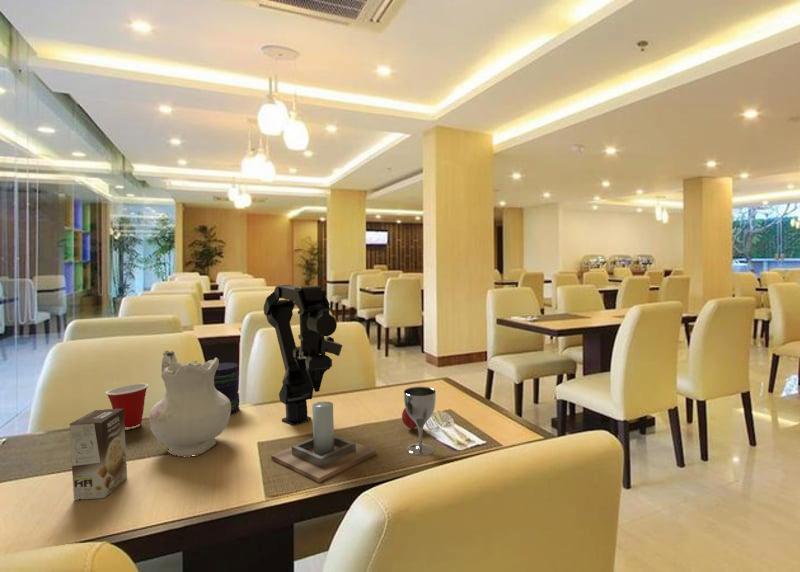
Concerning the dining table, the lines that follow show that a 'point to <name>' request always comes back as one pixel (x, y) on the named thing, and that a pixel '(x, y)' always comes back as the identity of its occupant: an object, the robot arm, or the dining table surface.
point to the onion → (408, 420)
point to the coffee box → (98, 453)
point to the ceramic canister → (323, 428)
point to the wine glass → (420, 414)
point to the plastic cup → (129, 402)
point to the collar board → (323, 458)
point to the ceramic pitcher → (189, 407)
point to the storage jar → (228, 383)
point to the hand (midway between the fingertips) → (312, 387)
